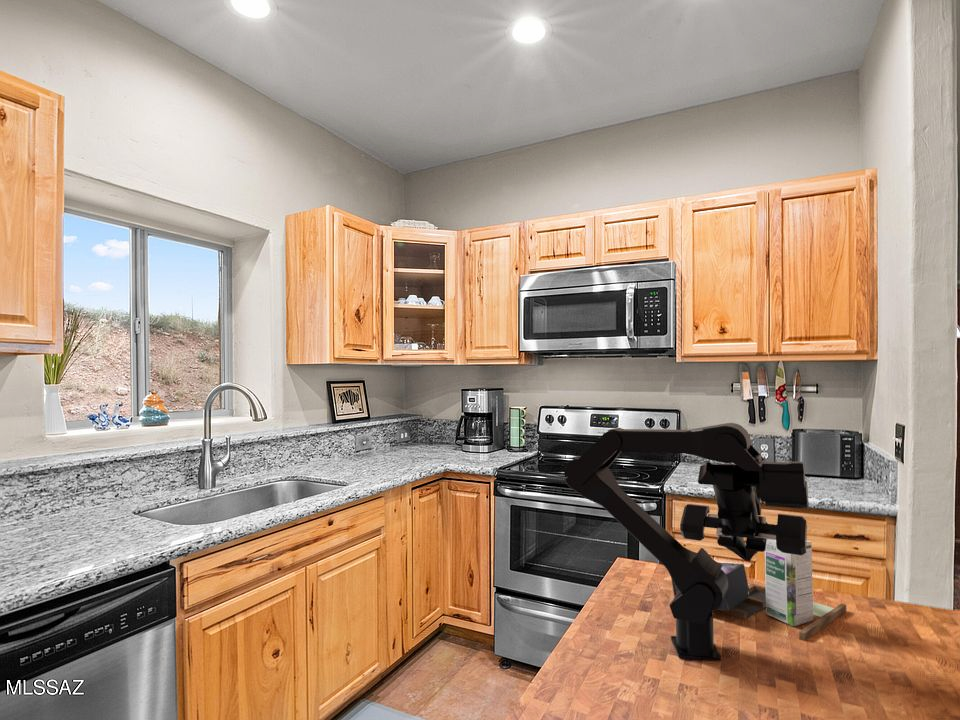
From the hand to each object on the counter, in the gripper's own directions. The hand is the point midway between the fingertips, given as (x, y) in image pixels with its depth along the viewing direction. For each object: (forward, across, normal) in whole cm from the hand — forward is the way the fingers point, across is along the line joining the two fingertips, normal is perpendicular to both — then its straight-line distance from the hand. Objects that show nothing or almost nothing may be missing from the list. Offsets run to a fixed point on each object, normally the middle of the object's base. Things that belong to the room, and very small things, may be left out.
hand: (747, 558), depth 95 cm
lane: (+18, -3, -2) cm, 18 cm away
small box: (+13, +13, -1) cm, 19 cm away
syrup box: (+16, -5, 0) cm, 17 cm away
